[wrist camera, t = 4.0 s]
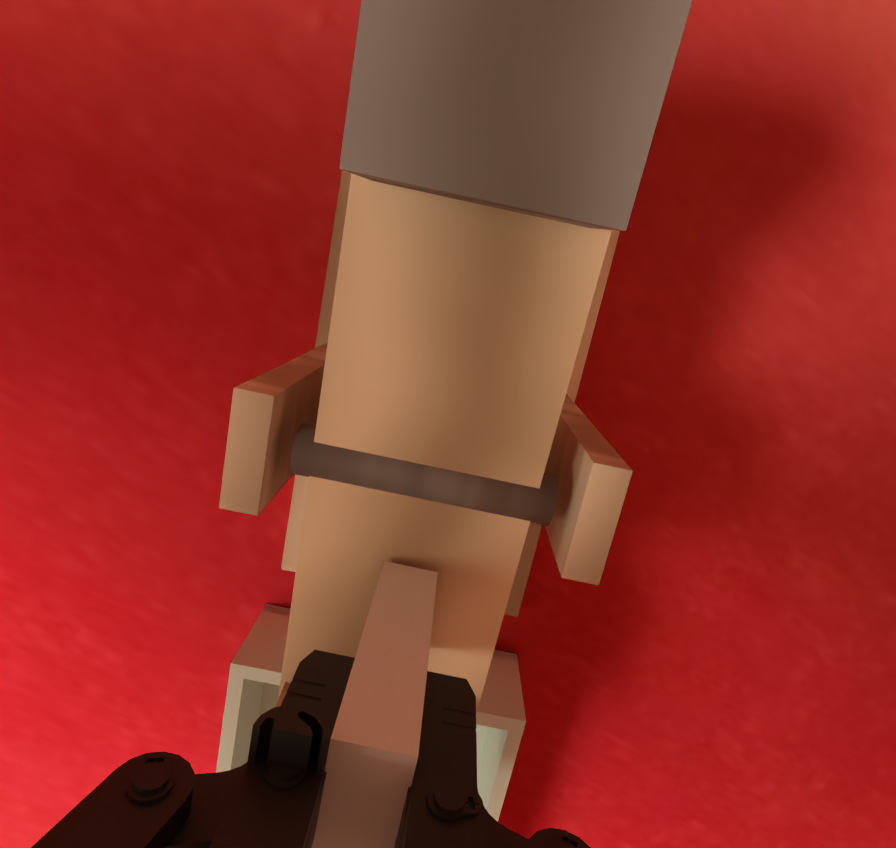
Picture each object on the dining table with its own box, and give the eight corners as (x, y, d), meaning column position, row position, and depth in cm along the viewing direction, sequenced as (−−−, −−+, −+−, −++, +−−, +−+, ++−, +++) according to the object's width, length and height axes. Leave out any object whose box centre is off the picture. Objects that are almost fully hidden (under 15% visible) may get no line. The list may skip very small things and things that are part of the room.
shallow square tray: (236, 808, 32) (199, 893, 27) (266, 603, 29) (230, 663, 24) (463, 852, 32) (463, 943, 27) (516, 653, 29) (526, 721, 24)
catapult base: (286, 561, 28) (172, 742, 17) (366, 41, 23) (276, -173, 12) (516, 607, 28) (548, 814, 17) (648, 104, 23) (813, -51, 12)
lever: (260, 770, 21) (202, 918, 17) (377, -98, 13) (323, -266, 8) (457, 808, 21) (451, 965, 17) (695, -26, 13) (809, -153, 9)
